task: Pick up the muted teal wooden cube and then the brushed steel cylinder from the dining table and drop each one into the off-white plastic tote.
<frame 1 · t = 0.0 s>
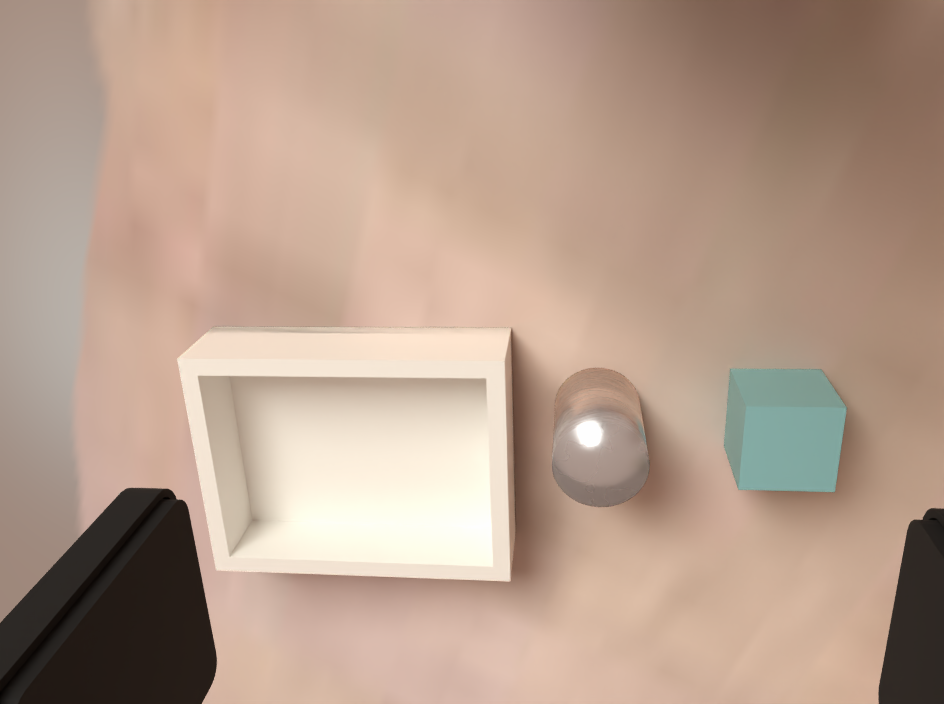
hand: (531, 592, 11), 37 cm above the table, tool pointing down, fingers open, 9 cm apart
steel cylinder: (597, 406, 50), on the table
teal cube: (771, 408, 49), on the table
tote: (368, 432, 53), on the table
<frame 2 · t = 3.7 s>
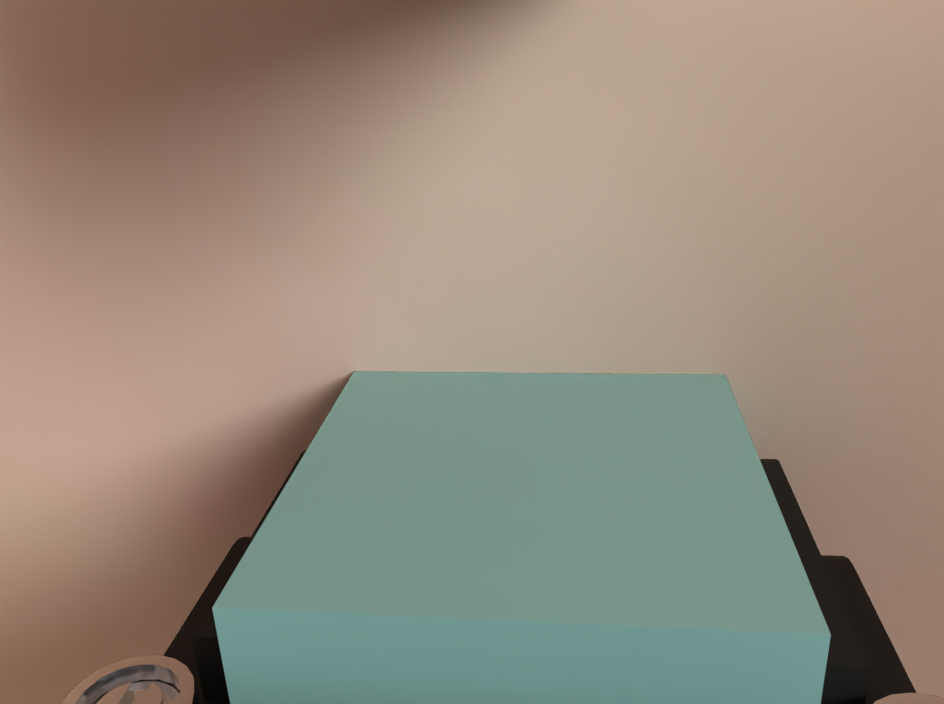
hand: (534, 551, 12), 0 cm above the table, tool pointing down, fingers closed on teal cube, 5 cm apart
teal cube: (536, 529, 12), on the table, touching gripper
when the fingers open (5 cm above the table, at t = 9.2 s): teal cube drops 3 cm, resting on tote.
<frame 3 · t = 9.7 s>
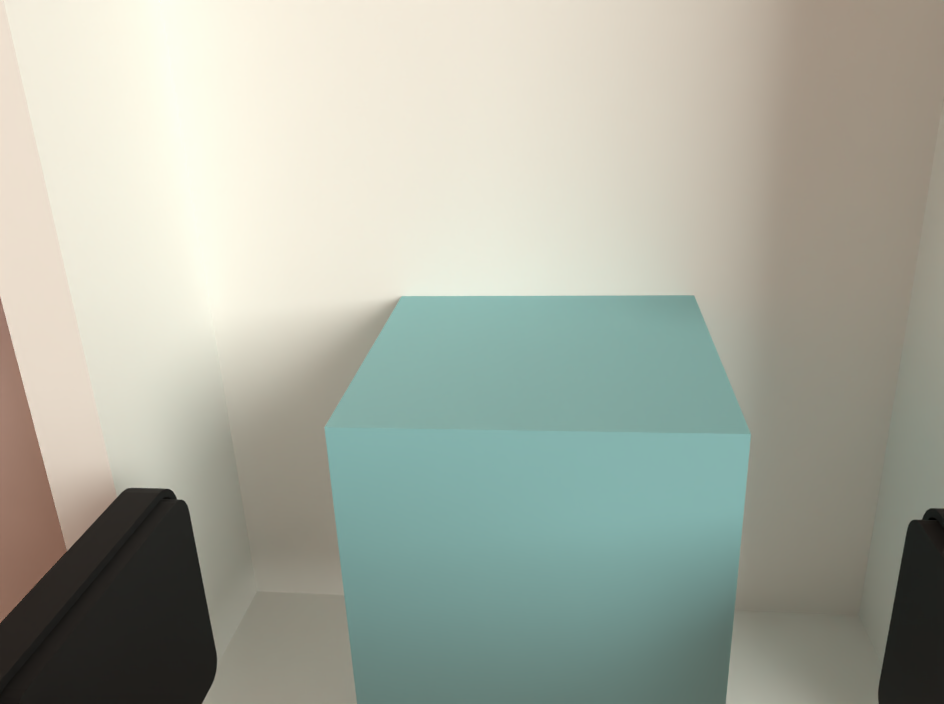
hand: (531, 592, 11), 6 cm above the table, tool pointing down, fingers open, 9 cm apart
teal cube: (546, 425, 15), point 1 cm above the table, touching tote
tote: (544, 195, 15), on the table
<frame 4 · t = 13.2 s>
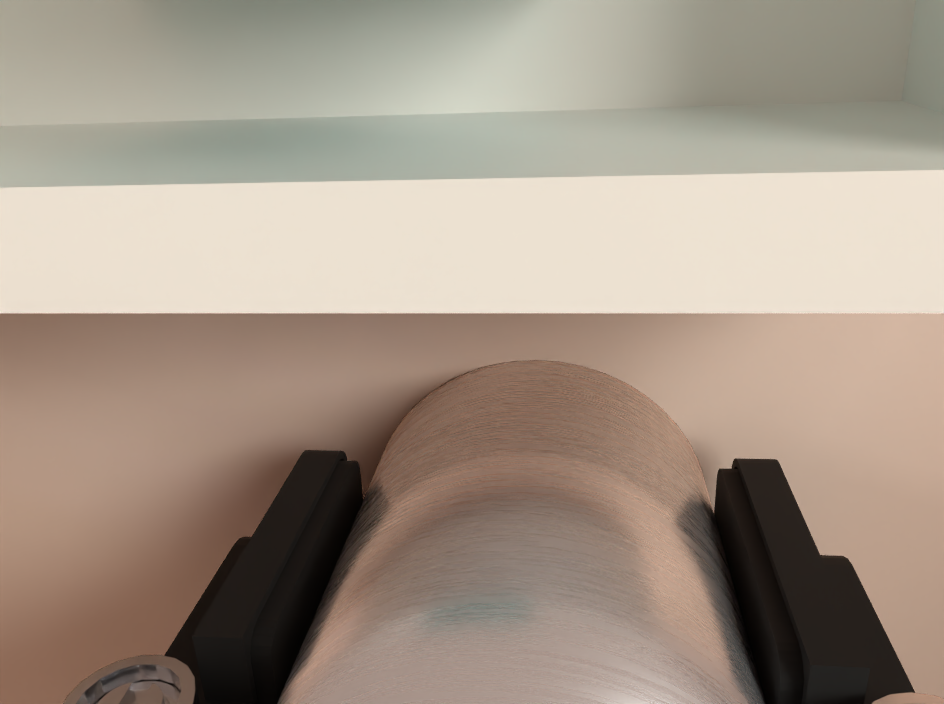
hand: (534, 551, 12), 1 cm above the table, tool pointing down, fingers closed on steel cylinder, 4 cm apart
steel cylinder: (537, 513, 13), on the table, touching gripper
when the fingers open (5 cm above the table, at t = 18.6 s): steel cylinder drops 3 cm, resting on tote.
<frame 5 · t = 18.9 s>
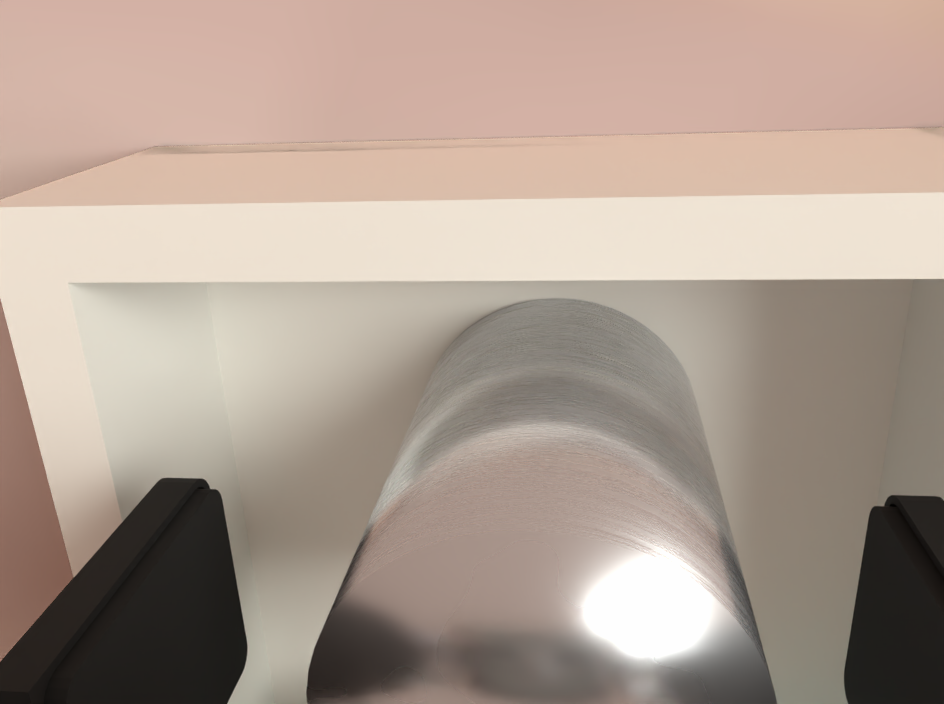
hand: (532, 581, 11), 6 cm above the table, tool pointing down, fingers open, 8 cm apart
steel cylinder: (557, 428, 15), point 1 cm above the table, touching tote
tote: (546, 572, 18), on the table
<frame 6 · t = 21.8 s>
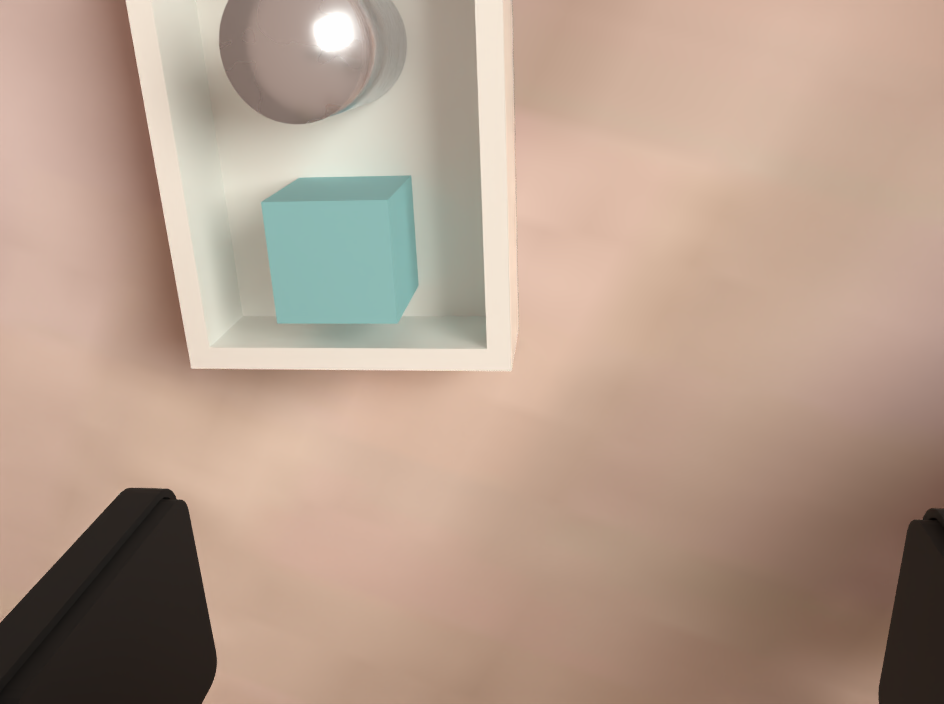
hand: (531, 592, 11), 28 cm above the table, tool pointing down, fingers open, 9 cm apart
steel cylinder: (347, 43, 35), point 1 cm above the table, touching tote
teal cube: (360, 232, 38), point 1 cm above the table, touching tote
tote: (356, 137, 37), on the table
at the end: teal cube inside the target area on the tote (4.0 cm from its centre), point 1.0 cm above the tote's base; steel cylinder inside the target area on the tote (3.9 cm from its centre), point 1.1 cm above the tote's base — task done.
